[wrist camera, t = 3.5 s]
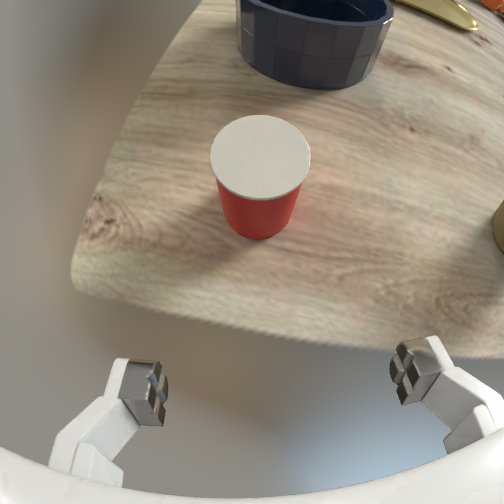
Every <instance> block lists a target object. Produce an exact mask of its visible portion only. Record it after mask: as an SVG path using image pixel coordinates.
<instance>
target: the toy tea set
mask: <svg viewBox="0 0 504 504" xmlns="http://www.w3.org/2000/svg"><path fill="white" fill-rule="evenodd" d="M480 1H481V2H482V3H483V4H484V5H485V6H486V7H488V8H489V9H491V10H492V11H496V10H497V9H498V10H499V11H500V12H502V13H501V16H502V17H503V18H504V0H480Z"/></svg>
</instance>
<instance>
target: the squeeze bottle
mask: <svg viewBox="0 0 504 504" xmlns="http://www.w3.org/2000/svg"><path fill="white" fill-rule="evenodd" d="M493 231H494V235H495V239H496V241H497V244H498V246H499V248H500V249H501V251H502V252H503V253H504V200H503V202H502V203H501V205H500V206H499V208H498V209H497V210H496V212H495V215H494V218H493Z"/></svg>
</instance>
